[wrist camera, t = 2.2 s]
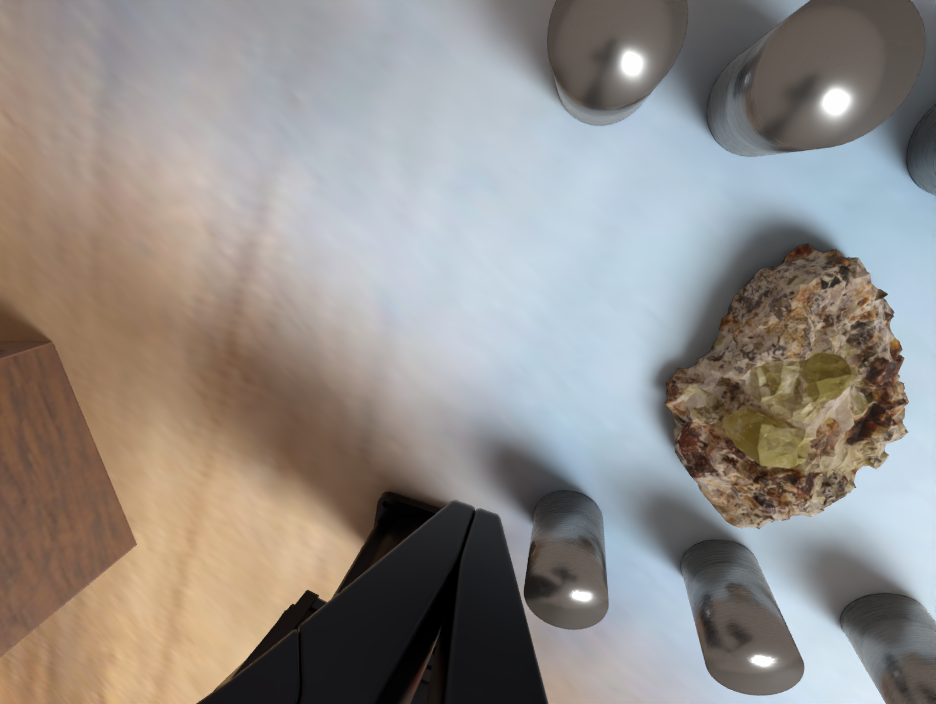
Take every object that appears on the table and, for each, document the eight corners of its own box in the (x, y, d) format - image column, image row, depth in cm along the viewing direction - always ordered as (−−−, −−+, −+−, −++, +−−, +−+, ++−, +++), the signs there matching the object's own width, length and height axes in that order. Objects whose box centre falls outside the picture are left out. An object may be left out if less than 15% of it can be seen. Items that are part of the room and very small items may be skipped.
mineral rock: (906, 555, 16) (689, 562, 16) (813, 483, 20) (639, 487, 20) (1030, 252, 13) (753, 253, 12) (887, 238, 17) (677, 238, 16)
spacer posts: (450, 507, 23) (422, 578, 19) (571, 5, 14) (568, -63, 10) (902, 658, 20) (985, 781, 16) (1381, 143, 12) (1818, 124, 8)
